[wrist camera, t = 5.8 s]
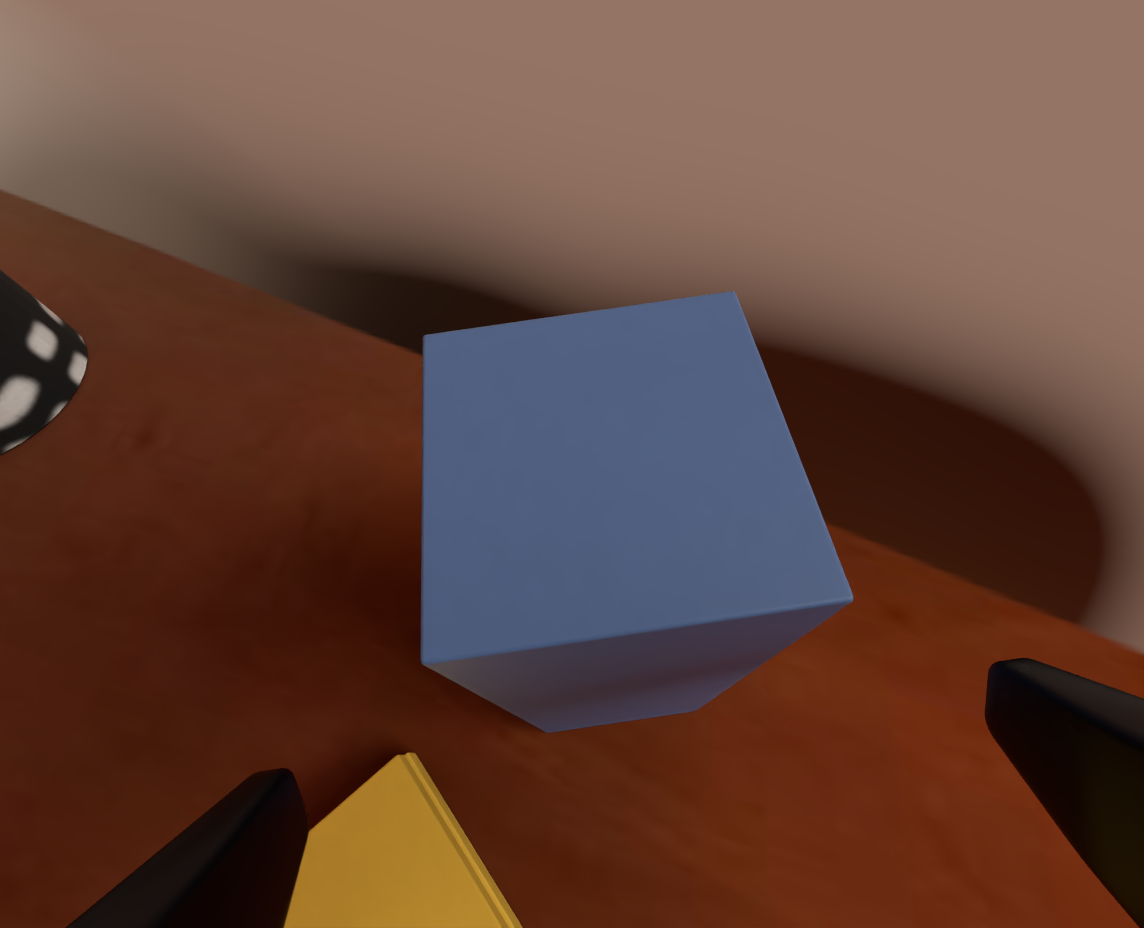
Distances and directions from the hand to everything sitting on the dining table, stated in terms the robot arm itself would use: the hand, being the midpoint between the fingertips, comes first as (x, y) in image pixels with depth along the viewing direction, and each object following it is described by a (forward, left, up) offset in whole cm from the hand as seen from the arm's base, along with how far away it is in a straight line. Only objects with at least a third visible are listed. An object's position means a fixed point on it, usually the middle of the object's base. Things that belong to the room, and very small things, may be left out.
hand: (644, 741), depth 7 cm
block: (+3, -2, -10) cm, 11 cm away
